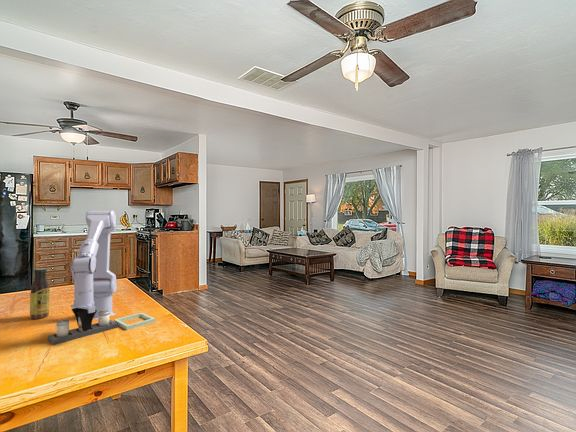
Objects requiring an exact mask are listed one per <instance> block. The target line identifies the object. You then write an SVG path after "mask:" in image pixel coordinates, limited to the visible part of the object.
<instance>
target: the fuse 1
mask: <svg viewBox="0 0 576 432" xmlns="http://www.w3.org/2000/svg"><path fill="white" fill-rule="evenodd" d="M55 324H56V325H55V327H56V333H57V337H56V338H61V337H65V336H69V330H70V319H60V320H57V321H56V322H55Z"/></svg>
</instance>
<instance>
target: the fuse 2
mask: <svg viewBox="0 0 576 432" xmlns="http://www.w3.org/2000/svg"><path fill="white" fill-rule="evenodd" d="M97 320H98V323H99V327H103V326H107V325H110V324H109V320H110V316H109V310H104V311H100V312H98V319H97Z"/></svg>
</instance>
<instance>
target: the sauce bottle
mask: <svg viewBox="0 0 576 432" xmlns="http://www.w3.org/2000/svg"><path fill="white" fill-rule="evenodd" d="M33 272H34V279H33V280H34V281H33V282H32V283H31V286H30V294H29V295H30V296H29V300H30V301H29V314H30V315H29V318H30V319H32V320H33V319H34V320H36V319H37V320H38V319H45V318H46V317H48V316H49V312H50V286H49V284H48V280H47V268H45V267H43V268H42V267H40V268H34V271H33Z"/></svg>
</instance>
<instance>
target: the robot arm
mask: <svg viewBox="0 0 576 432" xmlns="http://www.w3.org/2000/svg"><path fill="white" fill-rule="evenodd" d="M85 223H86V224H87V227H88V229H87V234H86V238H85V240H84V239H83V241H82V242H81V243H80V246H79V250H78V252H77V254H76V255H77V256H76V257H75V258H73V259H71V260H72V261H71V264H70V271H71V272H70V273H71V275H72V279H73V280H74V282H73V283H74V286H73V289H74V290H73V292H74V294H73V295H74V299H73V304H70V308H71V312H72V313H73V314H74V318H75V320H76V325H78V317H80V320H81V324H82V329H83V331H86V330H90V328H91V324H93V319H94V320H99V319H98V312H100V311H104V310H109V317H111V316H117V314H116V312H113V294H115V292H116V291H117V288H118V287H117V285H118V283H117V275H116V274H115V273H114V272H113V271H111V270H110V258H111V257H110V255H111V253H110V251H111V235H112V232H114V231H115V230H116V225H117V214H116V212H115V210H91V209H90V210H89V209H88V211H87V212H86V213H85Z"/></svg>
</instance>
